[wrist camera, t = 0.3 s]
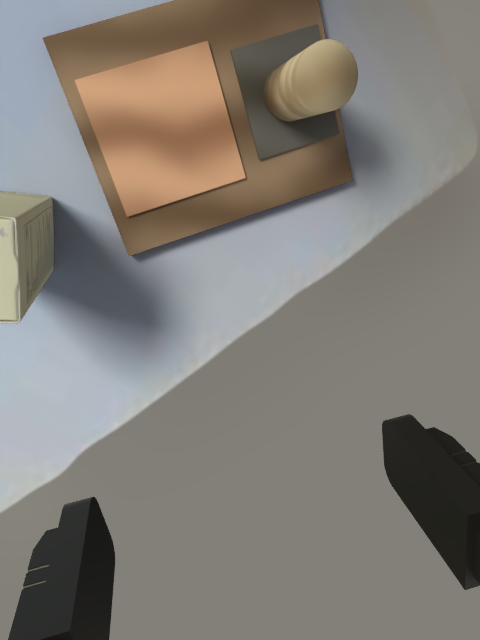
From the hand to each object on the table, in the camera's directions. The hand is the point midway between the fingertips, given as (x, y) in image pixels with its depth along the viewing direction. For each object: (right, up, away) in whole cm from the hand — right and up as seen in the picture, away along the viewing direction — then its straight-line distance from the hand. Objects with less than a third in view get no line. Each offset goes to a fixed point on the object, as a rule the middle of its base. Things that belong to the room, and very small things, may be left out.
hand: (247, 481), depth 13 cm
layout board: (-2, +20, +24) cm, 32 cm away
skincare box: (-17, +11, +24) cm, 32 cm away
